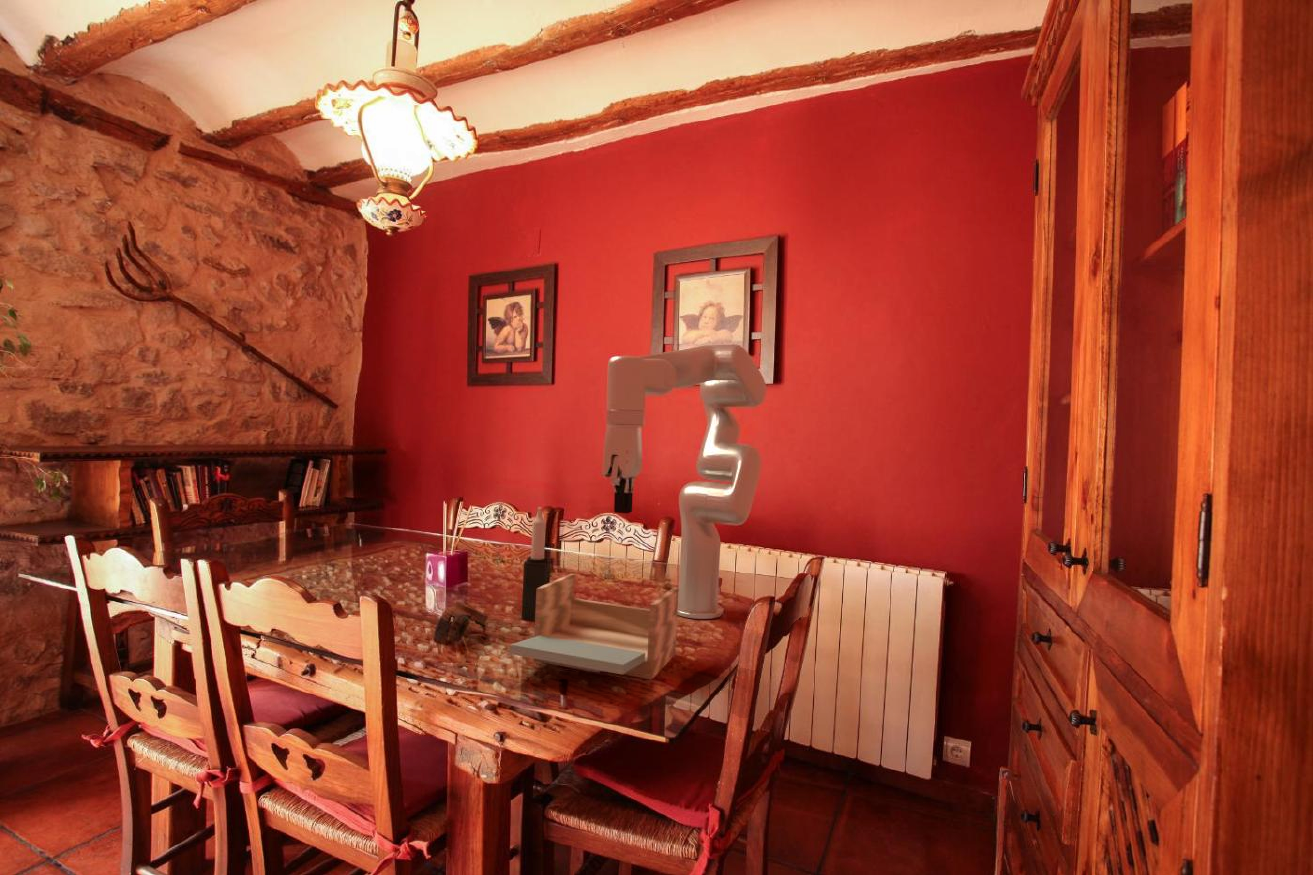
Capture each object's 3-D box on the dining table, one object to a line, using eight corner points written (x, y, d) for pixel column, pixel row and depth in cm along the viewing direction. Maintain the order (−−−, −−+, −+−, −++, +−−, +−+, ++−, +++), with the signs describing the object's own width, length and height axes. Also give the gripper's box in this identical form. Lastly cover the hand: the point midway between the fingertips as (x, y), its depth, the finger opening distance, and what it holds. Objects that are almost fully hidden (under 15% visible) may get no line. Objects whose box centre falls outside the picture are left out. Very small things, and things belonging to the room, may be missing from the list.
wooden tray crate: (567, 636, 130) (570, 573, 130) (675, 654, 122) (678, 587, 122) (533, 658, 117) (536, 588, 117) (651, 679, 109) (655, 605, 109)
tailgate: (540, 635, 116) (510, 644, 106) (645, 652, 109) (623, 664, 99) (539, 646, 116) (508, 657, 106) (644, 665, 109) (621, 678, 99)
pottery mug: (431, 634, 128) (452, 597, 131) (472, 655, 130) (493, 617, 132) (426, 638, 117) (450, 597, 120) (472, 660, 118) (494, 619, 121)
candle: (541, 621, 138) (546, 509, 138) (519, 619, 139) (524, 507, 139) (549, 615, 143) (554, 506, 143) (528, 613, 144) (533, 504, 144)
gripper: (621, 419, 131) (619, 506, 132) (592, 419, 117) (589, 516, 118) (655, 420, 129) (653, 508, 130) (629, 420, 115) (627, 519, 116)
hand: (623, 512), depth 124 cm, fingers closed
